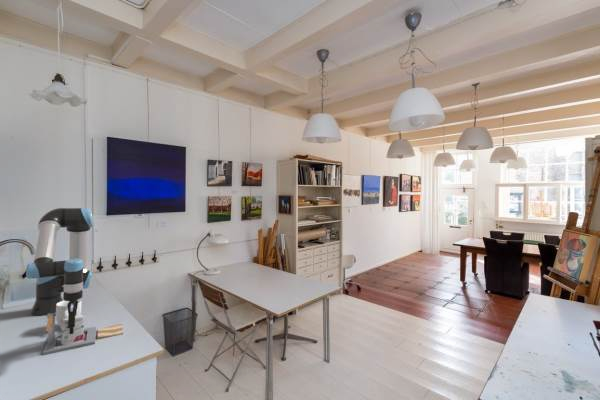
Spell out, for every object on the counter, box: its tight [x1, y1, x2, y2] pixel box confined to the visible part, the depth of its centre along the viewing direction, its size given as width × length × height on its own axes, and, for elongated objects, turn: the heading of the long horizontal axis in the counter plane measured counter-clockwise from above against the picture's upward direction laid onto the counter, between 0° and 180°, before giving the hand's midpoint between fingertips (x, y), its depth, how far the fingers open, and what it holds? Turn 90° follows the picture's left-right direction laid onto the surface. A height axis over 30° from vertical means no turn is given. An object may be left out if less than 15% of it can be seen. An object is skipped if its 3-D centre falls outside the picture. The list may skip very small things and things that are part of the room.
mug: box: [55, 298, 82, 327], centre depth 155 cm, size 15×11×13 cm
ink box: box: [59, 313, 85, 346], centre depth 142 cm, size 9×5×12 cm, turn 140°
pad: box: [97, 324, 124, 340], centre depth 152 cm, size 11×11×1 cm
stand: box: [42, 316, 97, 356], centre depth 142 cm, size 18×19×14 cm
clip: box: [45, 312, 56, 332], centre depth 131 cm, size 3×19×1 cm, turn 37°
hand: (72, 336), depth 142 cm, fingers closed on ink box, 6 cm apart
